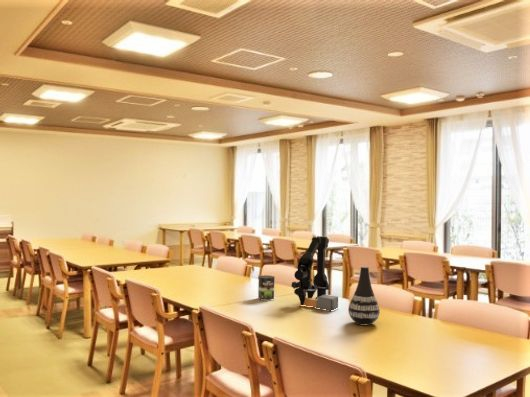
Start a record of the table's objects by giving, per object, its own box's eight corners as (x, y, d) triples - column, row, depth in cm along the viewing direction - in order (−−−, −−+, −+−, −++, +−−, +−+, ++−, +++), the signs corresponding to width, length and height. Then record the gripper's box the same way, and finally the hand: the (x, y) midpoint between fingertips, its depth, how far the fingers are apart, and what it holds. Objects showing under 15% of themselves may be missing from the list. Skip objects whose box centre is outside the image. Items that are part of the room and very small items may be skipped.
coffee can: (276, 300, 302) (276, 277, 302) (260, 301, 300) (260, 278, 299) (271, 296, 312) (272, 275, 312) (256, 297, 310) (256, 275, 309)
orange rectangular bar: (300, 306, 288) (300, 298, 288) (302, 305, 291) (302, 297, 291) (331, 310, 278) (332, 302, 278) (333, 309, 281) (334, 301, 281)
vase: (356, 328, 241) (357, 269, 241) (343, 320, 256) (344, 265, 256) (385, 327, 245) (386, 268, 245) (370, 319, 261) (371, 264, 260)
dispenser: (316, 309, 281) (316, 296, 281) (322, 306, 287) (322, 294, 287) (332, 311, 275) (332, 298, 275) (337, 308, 282) (338, 296, 282)
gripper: (301, 274, 301) (301, 299, 301) (286, 278, 285) (286, 304, 285) (317, 276, 295) (317, 301, 295) (303, 280, 279) (303, 307, 279)
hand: (305, 303), depth 289 cm, fingers open, 9 cm apart
